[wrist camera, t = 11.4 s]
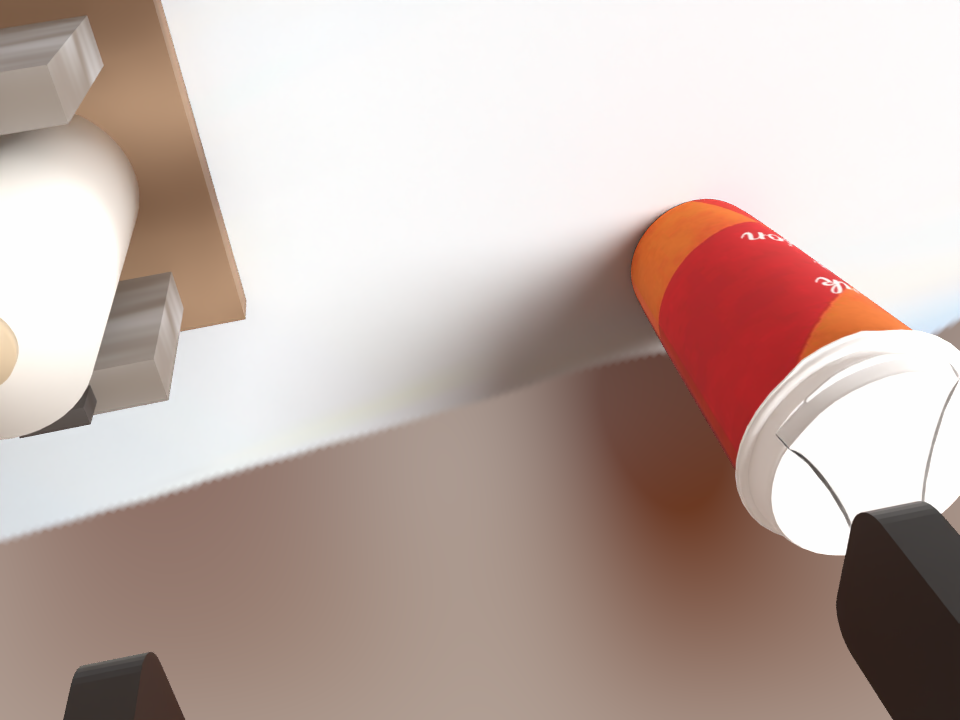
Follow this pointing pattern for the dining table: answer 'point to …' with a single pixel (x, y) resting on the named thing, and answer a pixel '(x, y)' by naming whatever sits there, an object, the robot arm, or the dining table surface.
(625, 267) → the dining table surface
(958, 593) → the robot arm
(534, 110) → the dining table surface
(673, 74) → the dining table surface
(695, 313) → the paper cup
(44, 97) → the holder
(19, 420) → the roll
